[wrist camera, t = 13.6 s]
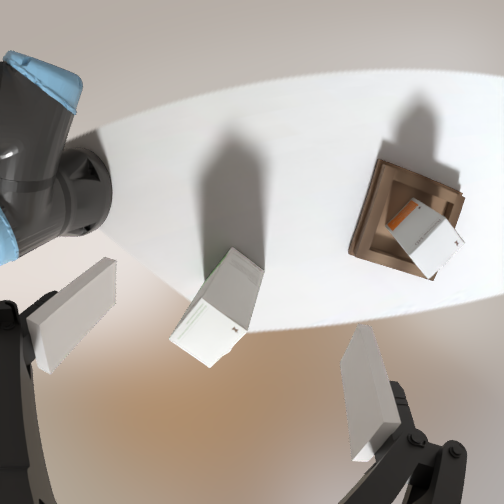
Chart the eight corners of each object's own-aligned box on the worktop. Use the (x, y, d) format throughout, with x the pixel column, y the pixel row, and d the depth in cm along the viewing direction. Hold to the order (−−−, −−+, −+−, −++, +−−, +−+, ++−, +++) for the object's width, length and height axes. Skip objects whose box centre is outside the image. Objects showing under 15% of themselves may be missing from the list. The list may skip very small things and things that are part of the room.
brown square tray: (348, 251, 44) (350, 259, 42) (377, 158, 39) (383, 159, 36) (428, 276, 44) (434, 284, 41) (459, 191, 38) (468, 195, 36)
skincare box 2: (411, 195, 39) (447, 215, 28) (429, 217, 40) (466, 243, 29) (382, 225, 41) (408, 255, 30) (401, 246, 42) (429, 281, 31)
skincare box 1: (233, 245, 47) (201, 292, 32) (268, 272, 47) (252, 330, 33) (202, 283, 50) (164, 338, 35) (235, 308, 50) (209, 371, 36)
